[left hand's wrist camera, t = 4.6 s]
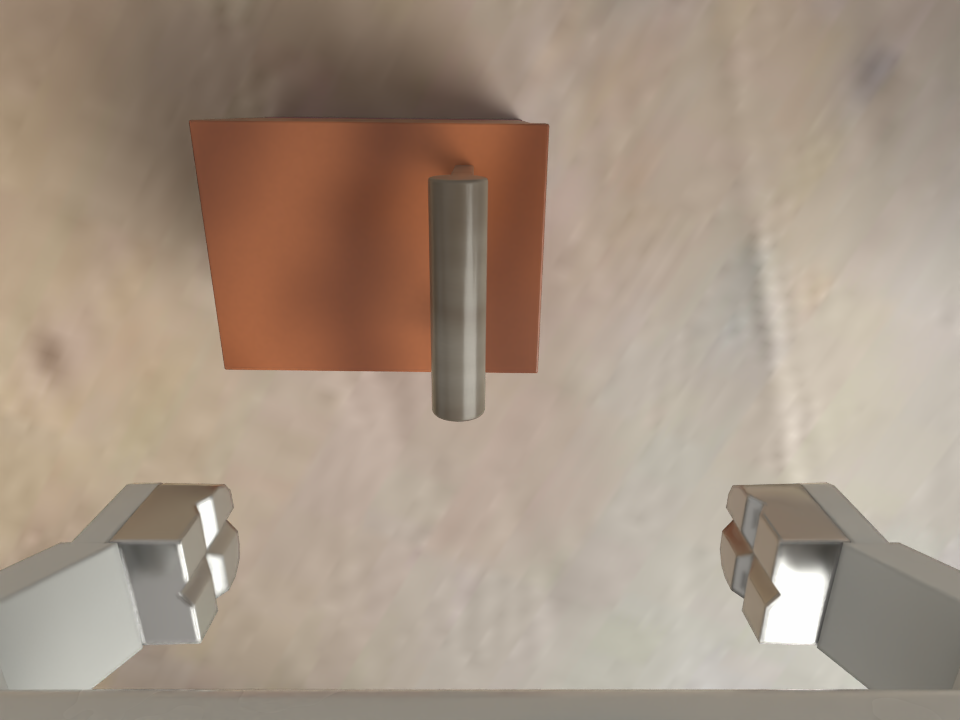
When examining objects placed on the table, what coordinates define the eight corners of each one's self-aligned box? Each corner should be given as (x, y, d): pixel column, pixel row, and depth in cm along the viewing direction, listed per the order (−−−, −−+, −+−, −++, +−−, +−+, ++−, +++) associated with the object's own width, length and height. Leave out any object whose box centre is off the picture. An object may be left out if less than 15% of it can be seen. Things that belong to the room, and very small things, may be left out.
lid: (546, 123, 24) (576, 129, 17) (535, 364, 28) (555, 461, 20) (199, 119, 24) (68, 123, 17) (233, 361, 28) (138, 455, 20)
